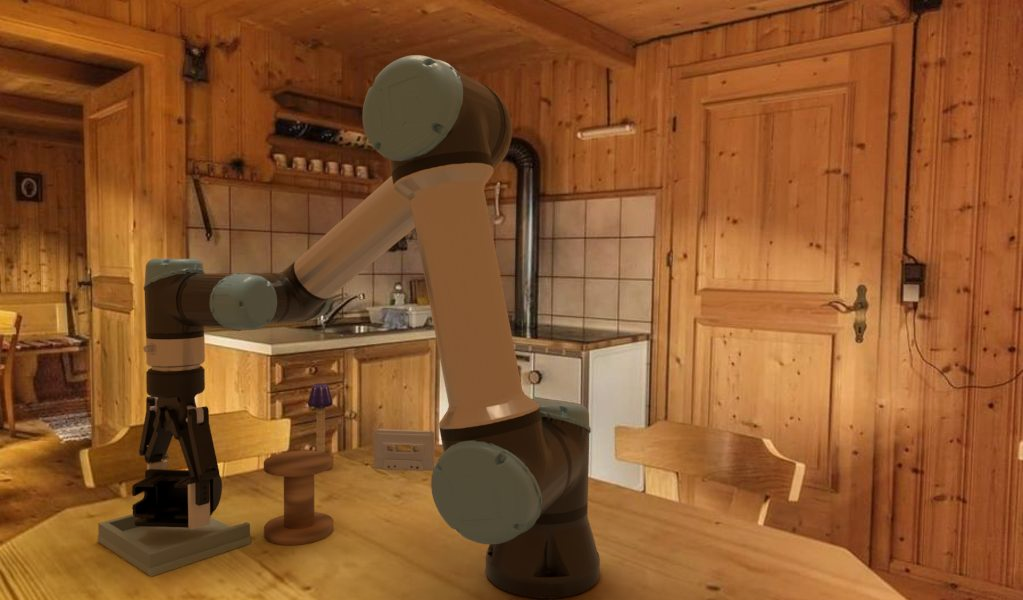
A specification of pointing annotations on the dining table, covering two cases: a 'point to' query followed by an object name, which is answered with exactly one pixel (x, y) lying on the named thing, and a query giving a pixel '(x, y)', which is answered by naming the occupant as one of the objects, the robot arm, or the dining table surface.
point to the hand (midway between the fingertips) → (177, 515)
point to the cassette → (404, 458)
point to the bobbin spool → (298, 498)
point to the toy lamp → (320, 411)
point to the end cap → (168, 498)
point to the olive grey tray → (169, 542)
